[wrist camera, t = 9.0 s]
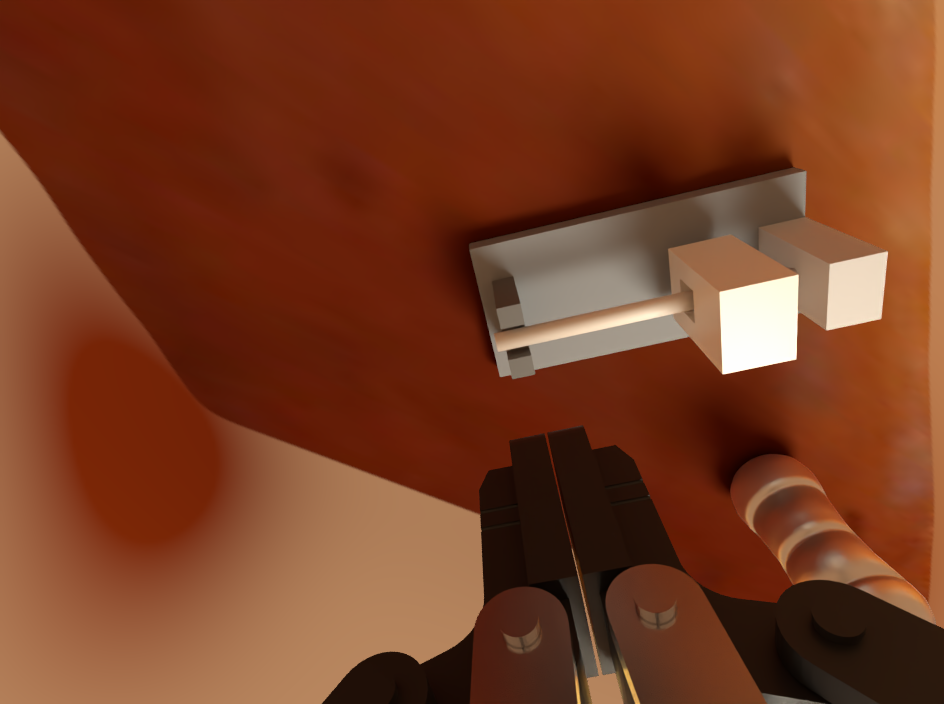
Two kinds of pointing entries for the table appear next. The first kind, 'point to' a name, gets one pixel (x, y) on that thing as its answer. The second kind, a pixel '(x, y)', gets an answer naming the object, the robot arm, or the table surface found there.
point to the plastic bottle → (813, 532)
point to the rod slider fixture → (659, 271)
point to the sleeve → (736, 303)
